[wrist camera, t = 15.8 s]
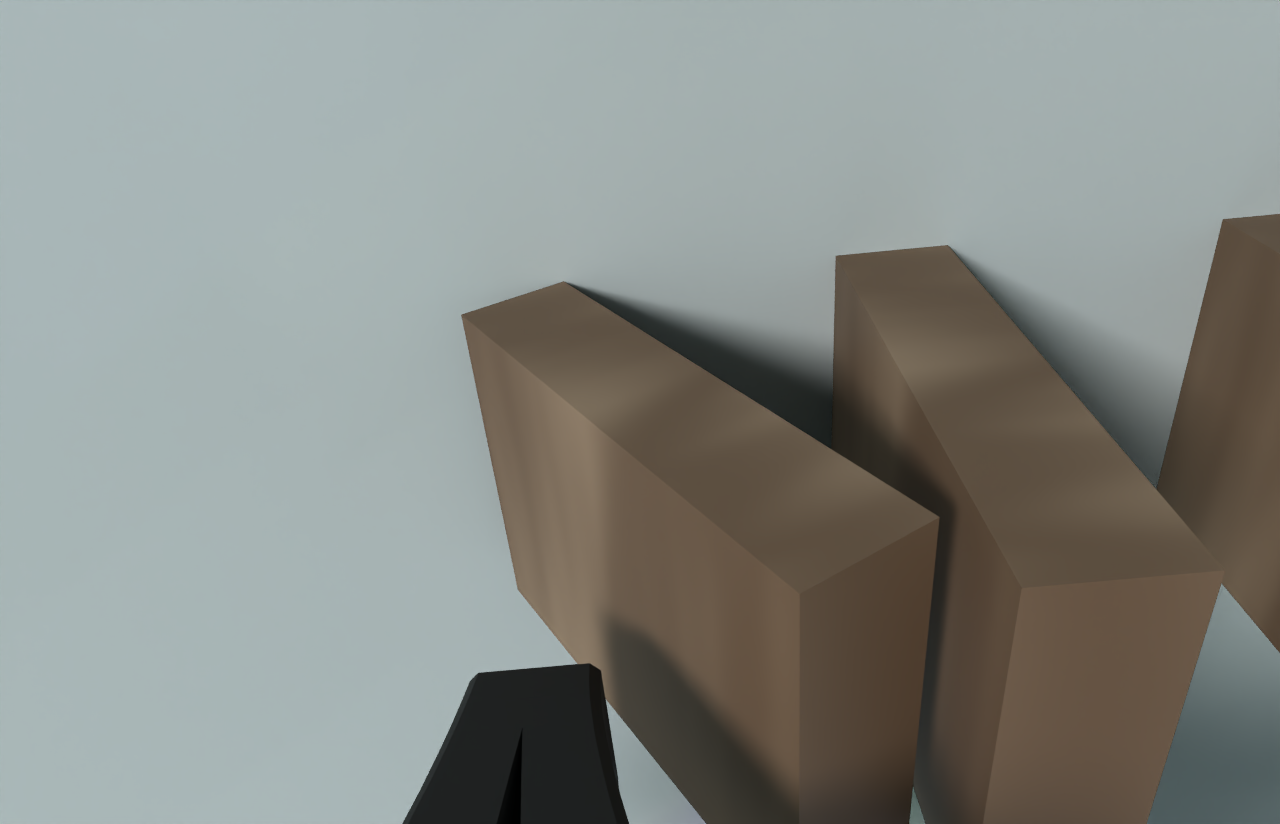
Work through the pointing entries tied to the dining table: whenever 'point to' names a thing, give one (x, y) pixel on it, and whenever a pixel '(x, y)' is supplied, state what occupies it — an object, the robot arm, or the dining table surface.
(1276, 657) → the dining table surface
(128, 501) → the dining table surface
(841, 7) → the dining table surface
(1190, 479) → the domino
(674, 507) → the domino
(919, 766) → the domino
